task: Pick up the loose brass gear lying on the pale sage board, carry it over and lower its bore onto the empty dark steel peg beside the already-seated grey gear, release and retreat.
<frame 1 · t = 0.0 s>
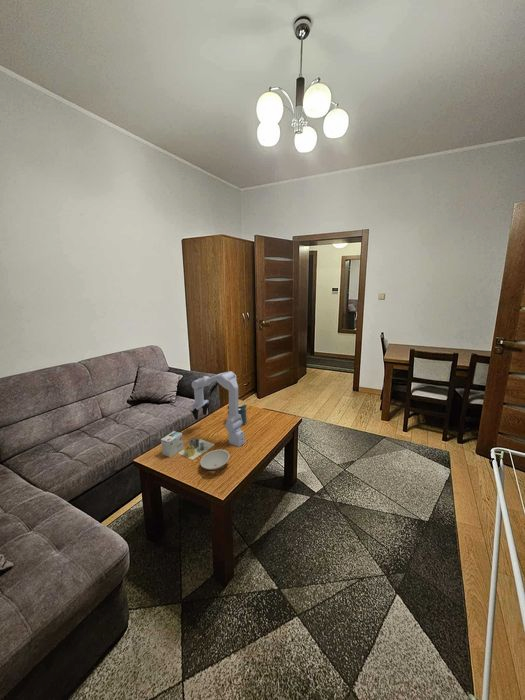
hand: (200, 416, 190), 10 cm above the table, fingers open, 7 cm apart
canister: (237, 422, 203), on the table
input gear: (189, 453, 165), point 1 cm above the table, touching gear board
dish: (215, 467, 154), on the table
gear board: (196, 450, 170), on the table
light bulb box: (173, 453, 168), on the table
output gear: (194, 446, 172), resting on gear board
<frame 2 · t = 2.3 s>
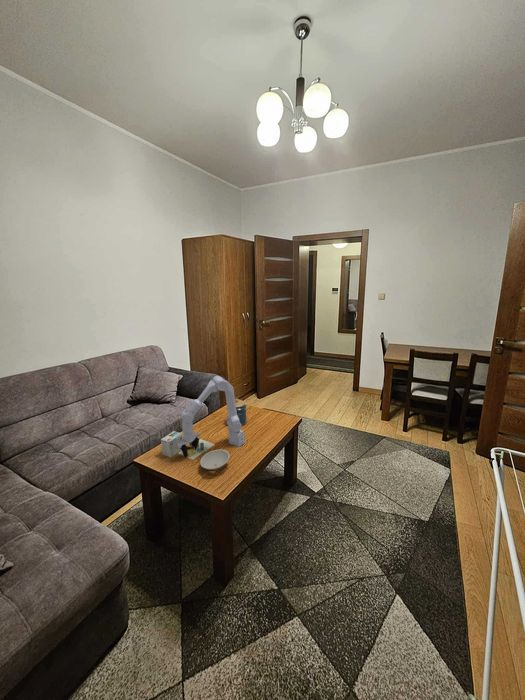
hand: (189, 453, 165), 1 cm above the table, fingers open, 6 cm apart
nothing on the table moved.
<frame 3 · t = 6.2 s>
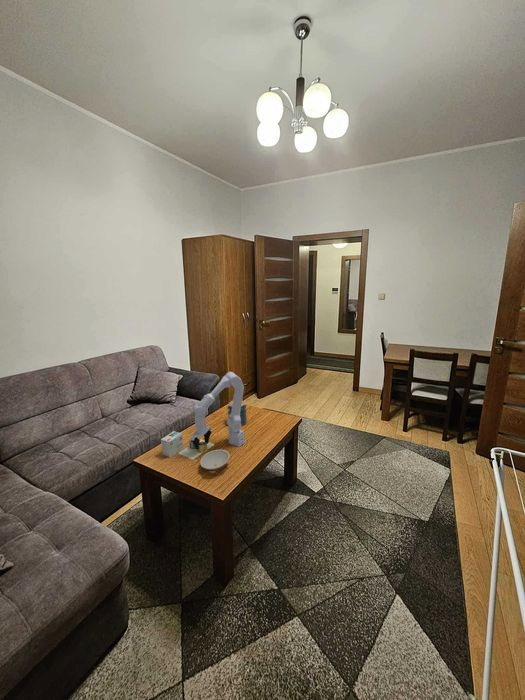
hand: (202, 445, 168), 3 cm above the table, fingers open, 7 cm apart
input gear: (202, 449, 169), point 1 cm above the table, touching gear board
everything else where it was.
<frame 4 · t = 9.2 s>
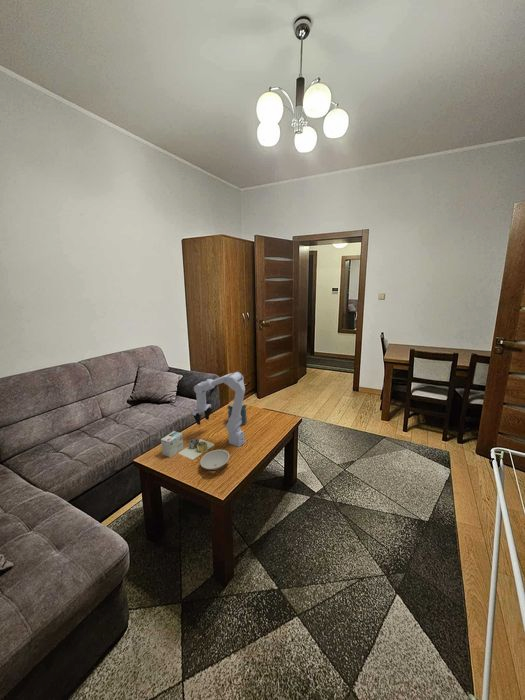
hand: (202, 421, 183), 10 cm above the table, fingers open, 7 cm apart
nothing on the table moved.
at the end: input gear 0.1 cm from the target spot, point 1.1 cm above the table; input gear tilted 0°; the gripper is holding nothing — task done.
